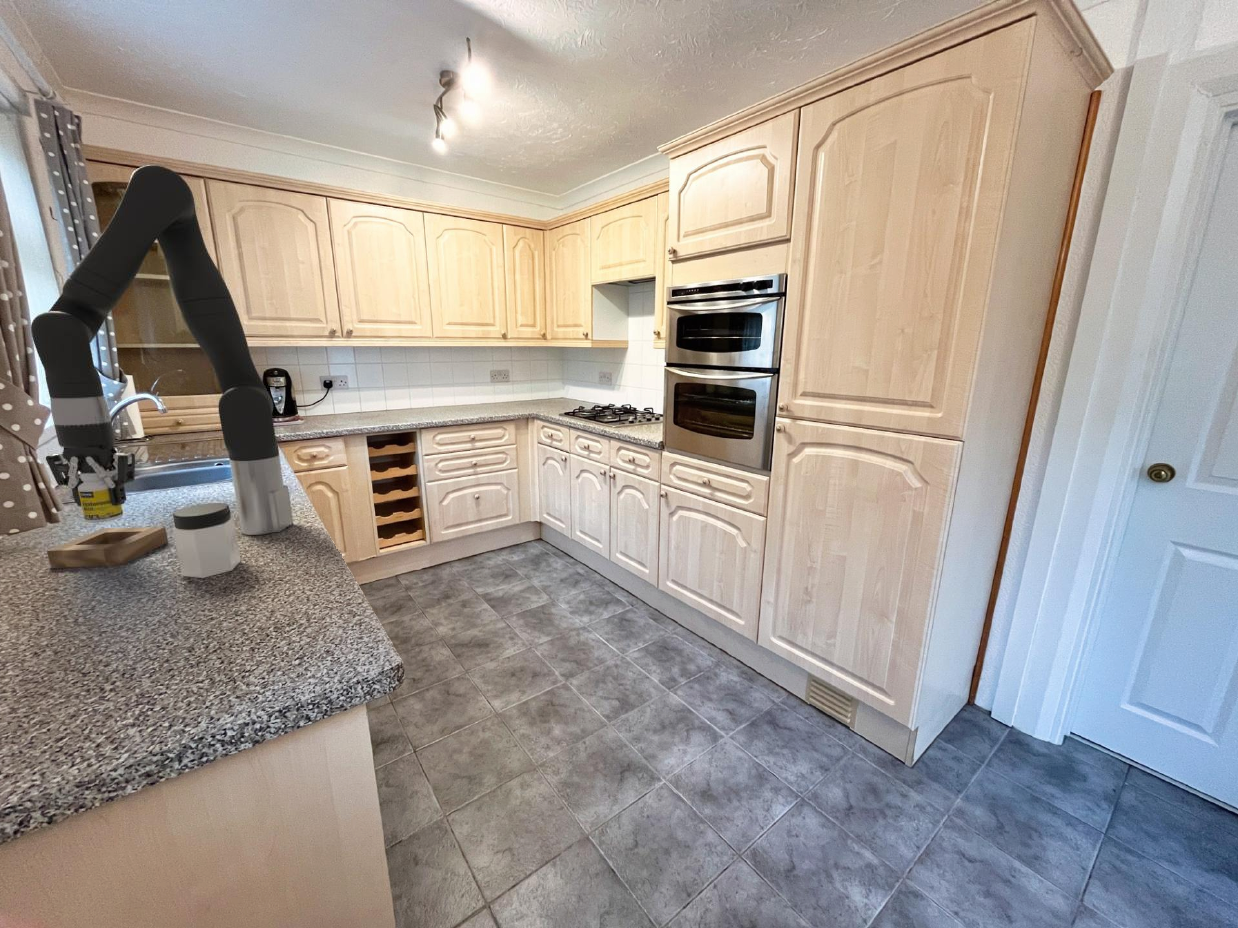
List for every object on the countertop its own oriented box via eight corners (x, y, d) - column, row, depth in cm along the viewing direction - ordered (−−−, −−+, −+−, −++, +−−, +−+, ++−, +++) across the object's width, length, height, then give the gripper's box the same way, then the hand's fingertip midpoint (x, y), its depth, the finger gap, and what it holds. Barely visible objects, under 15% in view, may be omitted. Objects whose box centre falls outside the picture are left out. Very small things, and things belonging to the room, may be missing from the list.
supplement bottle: (79, 525, 96) (68, 476, 93) (92, 516, 100) (81, 469, 98) (117, 521, 98) (107, 473, 96) (128, 513, 103) (118, 467, 101)
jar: (229, 575, 92) (218, 514, 90) (175, 581, 90) (162, 519, 87) (246, 556, 101) (236, 500, 98) (196, 562, 98) (185, 504, 95)
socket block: (168, 541, 107) (165, 526, 107) (121, 565, 96) (117, 548, 95) (106, 543, 106) (102, 528, 105) (51, 567, 94) (46, 550, 94)
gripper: (140, 418, 99) (156, 498, 103) (59, 417, 97) (78, 500, 101) (107, 423, 92) (126, 510, 96) (19, 423, 90) (41, 511, 94)
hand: (101, 504), depth 98 cm, fingers closed on supplement bottle, 5 cm apart
